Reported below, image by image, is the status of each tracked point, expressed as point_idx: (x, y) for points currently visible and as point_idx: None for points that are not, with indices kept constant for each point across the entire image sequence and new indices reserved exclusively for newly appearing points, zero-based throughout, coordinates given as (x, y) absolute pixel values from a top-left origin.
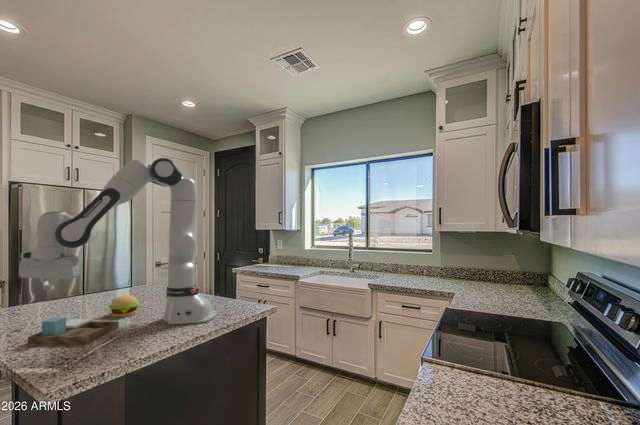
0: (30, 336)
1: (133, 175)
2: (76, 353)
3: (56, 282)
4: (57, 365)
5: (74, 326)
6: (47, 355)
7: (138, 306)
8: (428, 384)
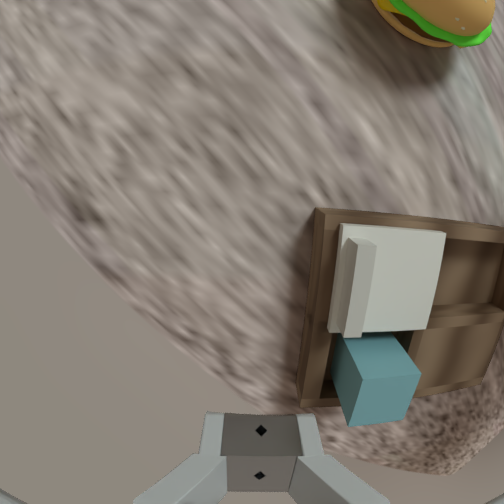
0: (307, 404)
1: None
2: (454, 396)
3: (355, 480)
4: (436, 438)
5: (425, 326)
6: None
7: None
8: None
